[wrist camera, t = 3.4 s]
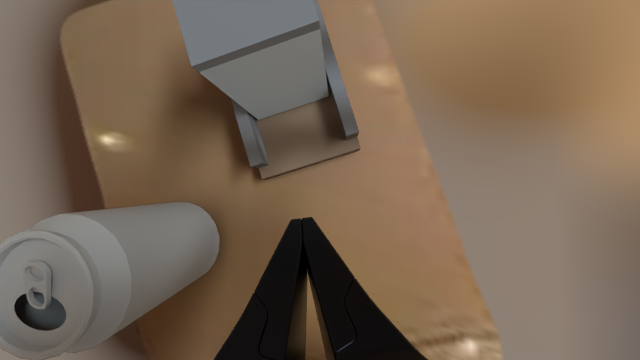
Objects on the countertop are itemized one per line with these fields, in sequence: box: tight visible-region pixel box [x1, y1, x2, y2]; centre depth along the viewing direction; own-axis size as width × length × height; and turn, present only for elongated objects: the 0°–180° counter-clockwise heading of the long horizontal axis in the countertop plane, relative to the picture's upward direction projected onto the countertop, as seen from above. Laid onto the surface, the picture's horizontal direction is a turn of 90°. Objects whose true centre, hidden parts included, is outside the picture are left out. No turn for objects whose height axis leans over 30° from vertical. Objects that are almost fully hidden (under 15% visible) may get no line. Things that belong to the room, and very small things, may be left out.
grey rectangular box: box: [172, 0, 329, 120], centre depth 16 cm, size 6×6×10 cm
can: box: [0, 202, 219, 360], centre depth 17 cm, size 8×8×12 cm
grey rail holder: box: [230, 0, 360, 179], centre depth 21 cm, size 16×9×4 cm, turn 17°
